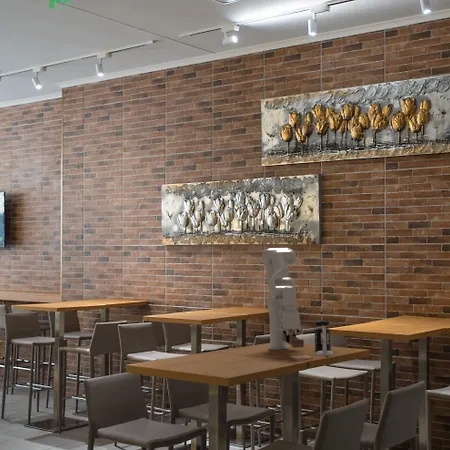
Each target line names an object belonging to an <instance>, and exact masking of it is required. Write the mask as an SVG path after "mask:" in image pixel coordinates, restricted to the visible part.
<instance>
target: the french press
mask: <svg viewBox="0 0 450 450" xmlns="http://www.w3.org/2000/svg"><path fill="white" fill-rule="evenodd" d="M317 312H318V313H320V315H321V317H323V312H326V311H325V310H318V311H317ZM313 323H314V326H316V327H319V326H321V329H320V328H317V329H314V344H315V345H314V352H316V351H317V352H318V351H323V340H322V336H323V327H326V326H330V323H331V320H324V319H321V320H315V321H314V322H313ZM331 344H332V343H331V329H328V328H326V347H327V351H332V347H331V346H332V345H331ZM317 352H316V353H317Z"/></svg>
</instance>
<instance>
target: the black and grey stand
mask: <svg viewBox="0 0 450 450" xmlns="http://www.w3.org/2000/svg"><path fill="white" fill-rule="evenodd" d="M322 327H323V336H322V335H321V339H322V340H323V341H322V344H323V351H318V352H316V353H315V356H317V355H319V357H329V356H330V357H331V355H332V356H334V355H335V354H334V352H333V350H331V351H327V347H326V329H327V328H326V326H322Z"/></svg>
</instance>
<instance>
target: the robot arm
mask: <svg viewBox="0 0 450 450" xmlns="http://www.w3.org/2000/svg"><path fill="white" fill-rule="evenodd" d="M261 258H262V263H263V265H264V269H265V271H266V277H267V287H268V291H269V293H270V295H271V296H269V297H268V298H267V302H266V303H267V308H268V315H269V340H270V341H269V342H270V345H269V346H267V349H268V350H277V351H278V350H279V351H280V350H287V349H290V346H289V345H287V344H288V343H289V334H290V333H289V330H292V334H291V335H292V336H294V337H296V338H297V335H298V333H299V332H300V331H302V330H303V328H302V326H301V319H300V313H299V310H297V309H298V307H297V305H298V301H297V288H296V284H295V280H294V279H293V278H292V277H287V276H288V275H289V274H290V270H289V269H290V268H289V266H288V265H294V264H295V263H296V261H297V255H296V252H295V251H294V250H293V249H292V248H289V247H272V248H271V247H270V248H267V249H263V251H262V254H261ZM282 333H284V334H285V335H286V341H287V342H288V343H287V342H285V341H283V340H282ZM288 333H289V334H288Z"/></svg>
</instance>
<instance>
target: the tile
mask: <svg viewBox="0 0 450 450" xmlns="http://www.w3.org/2000/svg"><path fill="white" fill-rule="evenodd" d="M291 358H292V360H294V359H295V360H294V361H305V360H304V359H311V360H313V359H314V357H313V356H310V355H308V354H301V355H298V354H297V355H290V359H291Z"/></svg>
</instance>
